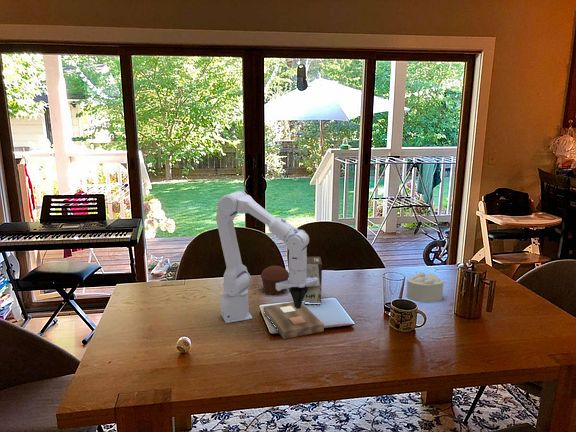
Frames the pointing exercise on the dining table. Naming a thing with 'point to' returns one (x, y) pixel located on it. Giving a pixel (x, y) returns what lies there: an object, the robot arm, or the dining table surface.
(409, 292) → the lumpy-topped squat cylinder
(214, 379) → the dining table surface
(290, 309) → the cream small block
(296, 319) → the terracotta key
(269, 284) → the muffin
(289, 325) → the key block
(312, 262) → the coffee box
